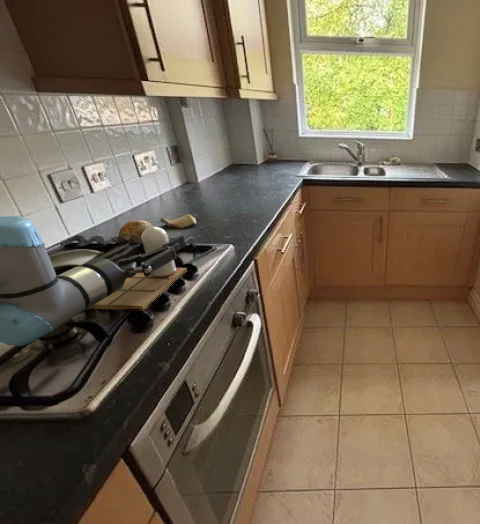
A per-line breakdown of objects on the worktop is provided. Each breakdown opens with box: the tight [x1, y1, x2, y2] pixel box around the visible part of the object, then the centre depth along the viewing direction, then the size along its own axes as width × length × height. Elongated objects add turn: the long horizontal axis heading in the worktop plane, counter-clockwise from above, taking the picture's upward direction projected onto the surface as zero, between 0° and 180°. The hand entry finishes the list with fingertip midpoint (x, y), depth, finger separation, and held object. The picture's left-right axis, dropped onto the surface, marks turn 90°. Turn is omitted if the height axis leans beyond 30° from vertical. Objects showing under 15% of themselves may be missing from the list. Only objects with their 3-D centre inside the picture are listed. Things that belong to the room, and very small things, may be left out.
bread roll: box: [117, 219, 154, 245], centre depth 104 cm, size 10×10×8 cm
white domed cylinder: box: [141, 226, 177, 276], centre depth 80 cm, size 5×5×12 cm
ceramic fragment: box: [48, 249, 102, 270], centre depth 86 cm, size 14×5×4 cm, turn 141°
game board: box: [87, 267, 188, 311], centre depth 78 cm, size 20×18×1 cm
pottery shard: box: [159, 213, 198, 229], centre depth 118 cm, size 11×4×10 cm
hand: (172, 239), depth 85 cm, fingers closed on white domed cylinder, 5 cm apart
